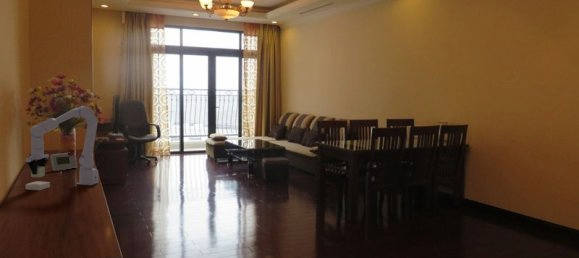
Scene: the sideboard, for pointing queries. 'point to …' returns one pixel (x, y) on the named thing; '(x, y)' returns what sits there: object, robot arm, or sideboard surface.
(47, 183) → the grey base
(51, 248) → the sideboard surface
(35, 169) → the robot arm
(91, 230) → the sideboard surface
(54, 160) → the digital clock
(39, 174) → the green block
